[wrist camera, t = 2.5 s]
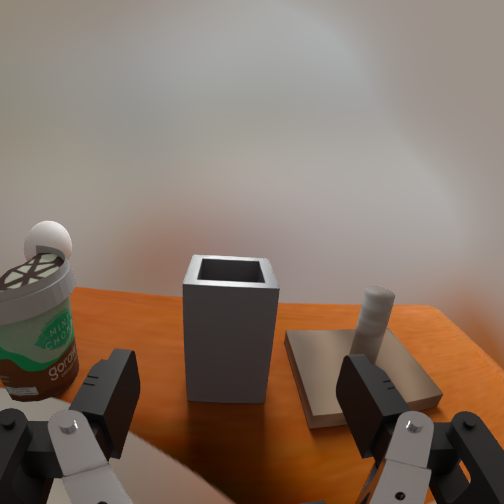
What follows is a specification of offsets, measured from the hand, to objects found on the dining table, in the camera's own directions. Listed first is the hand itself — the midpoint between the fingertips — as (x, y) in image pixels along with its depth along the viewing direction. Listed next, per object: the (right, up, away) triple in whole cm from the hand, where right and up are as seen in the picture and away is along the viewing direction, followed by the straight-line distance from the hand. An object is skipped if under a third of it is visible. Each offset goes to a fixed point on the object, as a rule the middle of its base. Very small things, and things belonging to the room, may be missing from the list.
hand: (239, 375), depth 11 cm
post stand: (+10, -7, +15) cm, 19 cm away
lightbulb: (-23, -3, +20) cm, 31 cm away
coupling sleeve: (-2, -6, +14) cm, 15 cm away
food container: (-17, -6, +10) cm, 21 cm away
